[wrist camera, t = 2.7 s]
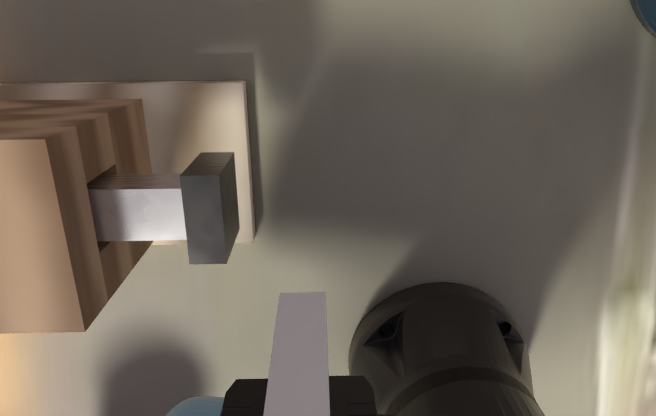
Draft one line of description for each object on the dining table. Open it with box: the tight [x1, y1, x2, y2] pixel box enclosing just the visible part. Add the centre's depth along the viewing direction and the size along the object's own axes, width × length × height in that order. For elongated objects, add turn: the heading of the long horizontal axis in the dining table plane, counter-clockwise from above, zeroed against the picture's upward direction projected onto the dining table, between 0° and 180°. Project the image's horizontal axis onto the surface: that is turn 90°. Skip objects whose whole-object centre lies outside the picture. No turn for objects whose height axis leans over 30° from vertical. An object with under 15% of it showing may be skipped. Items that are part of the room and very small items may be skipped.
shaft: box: [87, 152, 240, 264], centre depth 28 cm, size 16×5×5 cm, turn 91°
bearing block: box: [0, 81, 256, 333], centre depth 30 cm, size 20×12×14 cm, turn 90°
